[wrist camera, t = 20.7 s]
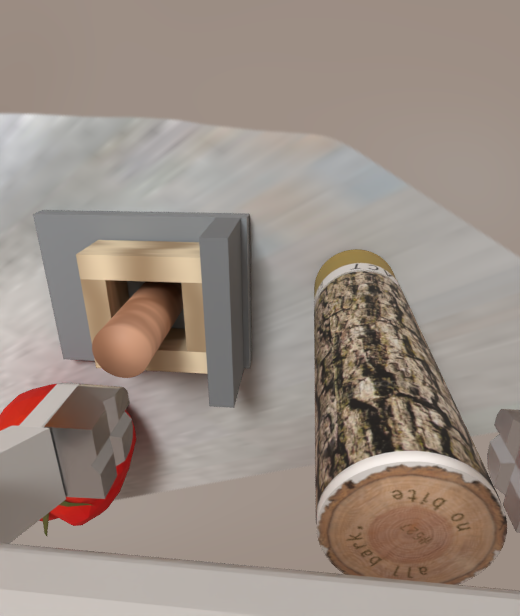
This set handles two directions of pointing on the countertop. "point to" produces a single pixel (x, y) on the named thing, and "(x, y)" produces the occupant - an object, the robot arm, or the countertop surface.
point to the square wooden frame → (156, 268)
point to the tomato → (72, 507)
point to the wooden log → (392, 439)
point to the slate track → (144, 227)
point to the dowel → (138, 329)
